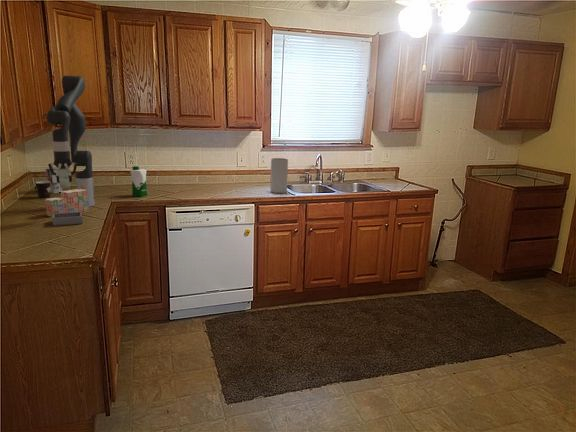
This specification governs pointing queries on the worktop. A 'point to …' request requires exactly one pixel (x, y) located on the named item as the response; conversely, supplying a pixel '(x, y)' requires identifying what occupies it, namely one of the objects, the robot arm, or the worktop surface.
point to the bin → (67, 218)
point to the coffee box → (53, 181)
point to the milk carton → (138, 182)
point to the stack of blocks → (68, 202)
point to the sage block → (64, 178)
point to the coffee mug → (43, 189)
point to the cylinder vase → (279, 175)
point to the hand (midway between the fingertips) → (64, 182)
